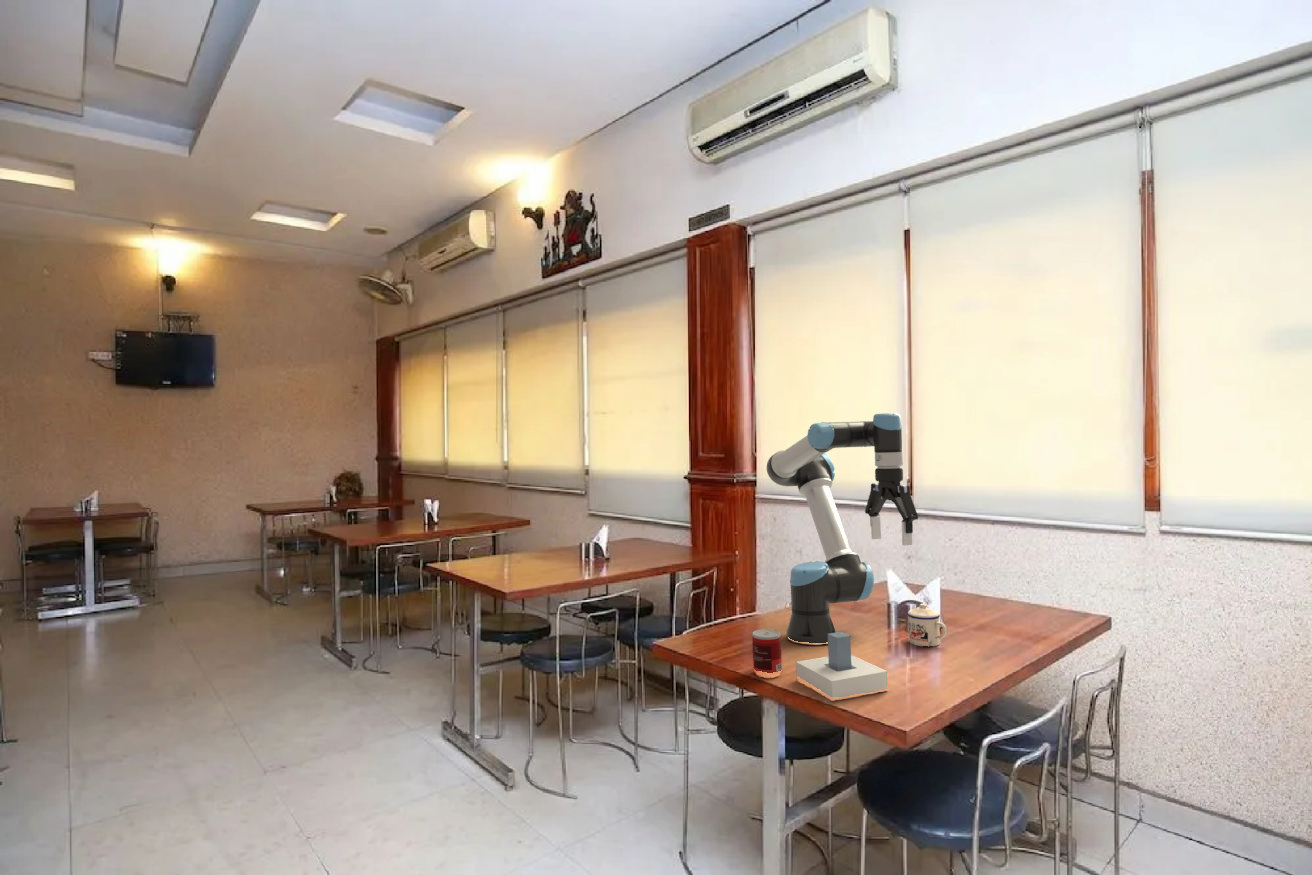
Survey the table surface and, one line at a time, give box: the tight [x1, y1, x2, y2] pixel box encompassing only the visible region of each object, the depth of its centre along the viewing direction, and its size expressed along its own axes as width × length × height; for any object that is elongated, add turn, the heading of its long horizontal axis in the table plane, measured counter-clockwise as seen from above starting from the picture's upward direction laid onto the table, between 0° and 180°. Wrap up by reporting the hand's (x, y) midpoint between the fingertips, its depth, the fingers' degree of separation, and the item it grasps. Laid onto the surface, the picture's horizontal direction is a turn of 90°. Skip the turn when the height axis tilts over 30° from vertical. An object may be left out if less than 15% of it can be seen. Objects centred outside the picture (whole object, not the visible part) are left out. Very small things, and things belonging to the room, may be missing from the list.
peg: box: [827, 631, 852, 672], centre depth 175 cm, size 4×4×13 cm
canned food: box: [751, 628, 783, 673], centre depth 186 cm, size 8×8×11 cm
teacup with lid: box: [907, 603, 948, 648], centre depth 207 cm, size 12×9×12 cm
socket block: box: [795, 654, 889, 697], centre depth 175 cm, size 16×16×5 cm
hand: (891, 541), depth 196 cm, fingers open, 13 cm apart
